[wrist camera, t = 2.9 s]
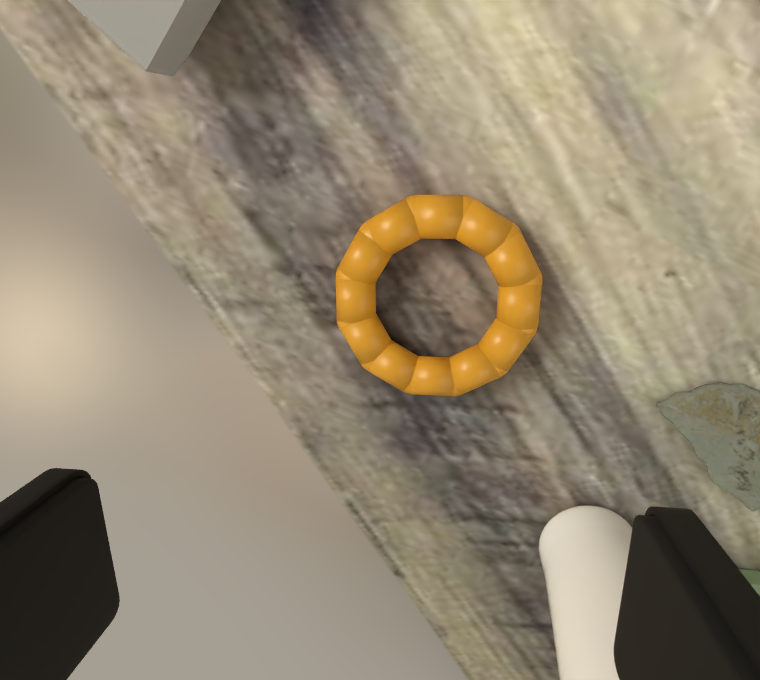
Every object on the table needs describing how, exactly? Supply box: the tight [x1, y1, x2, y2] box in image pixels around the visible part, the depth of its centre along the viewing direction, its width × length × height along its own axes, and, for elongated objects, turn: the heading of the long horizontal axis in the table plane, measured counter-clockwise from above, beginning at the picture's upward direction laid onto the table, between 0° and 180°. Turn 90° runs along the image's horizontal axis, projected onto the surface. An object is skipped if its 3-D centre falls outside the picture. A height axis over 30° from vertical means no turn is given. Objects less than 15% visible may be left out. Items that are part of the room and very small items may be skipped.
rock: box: [656, 382, 760, 511], centre depth 25 cm, size 9×2×5 cm
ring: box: [336, 195, 543, 396], centre depth 24 cm, size 10×10×2 cm
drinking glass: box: [539, 505, 632, 680], centre depth 21 cm, size 7×7×15 cm
